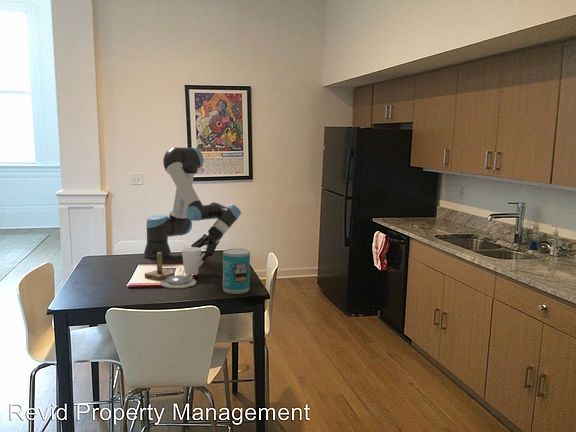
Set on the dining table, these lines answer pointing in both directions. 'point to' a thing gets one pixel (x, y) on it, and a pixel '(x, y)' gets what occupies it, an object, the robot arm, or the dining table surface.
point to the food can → (236, 271)
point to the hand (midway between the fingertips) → (191, 262)
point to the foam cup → (191, 259)
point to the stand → (159, 271)
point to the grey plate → (178, 282)
